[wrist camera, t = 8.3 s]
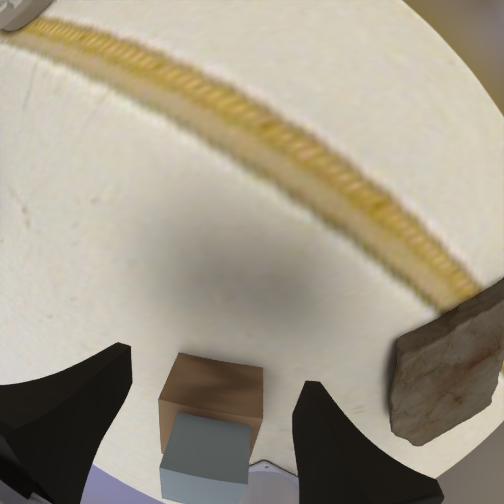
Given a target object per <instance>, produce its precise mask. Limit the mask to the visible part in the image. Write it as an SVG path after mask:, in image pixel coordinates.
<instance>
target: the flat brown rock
mask: <svg viewBox="0 0 504 504" xmlns="http://www.w3.org/2000/svg"><path fill="white" fill-rule="evenodd" d="M503 360H504V279H503V280H501V281H500V282H498V283H497V284H495V285H493V286H492V287H490V288H488V289H486V290H484V291H483V292H481V293H480V294H479V295H477V296H475V297H473V298H471V299H469V300H467V301H465V302H464V303H462V304H460V305H459V306H458V307H456V308H455V309H454V310H453V311H451V312H449V313H447V314H446V315H443V316H441V317H439V318H438V319H436V320H434V321H432V322H430V323H429V324H427V325H424V326H422V327H420V328H418V329H416V330H414V331H411V332H409V333H407V334H405V335H403V336H401V337H400V338H398V341H397V365H396V368H395V371H394V374H393V381H392V386H391V390H390V402H389V412H390V425H391V431H392V432H393V433H394V434H395V436H397V437H401V438H404V439H406V440H408V441H409V442H410V443H411V444H412V445H414V446H423V445H424V444H426V443H428V442H430V441H431V440H433V439H435V438H436V437H438V436H440V435H442V434H443V433H445V432H447V431H449V430H450V429H452V428H454V427H455V426H457V425H458V424H460V423H462V422H464V421H466V420H468V419H470V418H471V417H473V416H474V415H476V414H478V413H479V412H481V411H482V410H484V409H485V408H486V407H488V406H489V405H490V404H491V402H492V400H491V399H492V395H493V393H494V391H495V389H496V386H497V384H498V376H499V372H500V371H501V368H502V364H503Z"/></svg>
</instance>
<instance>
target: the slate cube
mask: <svg viewBox="0 0 504 504" xmlns="http://www.w3.org/2000/svg"><path fill="white" fill-rule="evenodd" d="M250 435H251V426H249V425H242V424H236V423H230V422H224V421H219V420H214V419H209V418H204V417H199V416H195V415H190V414H186V413H182V412H177V415H176V418H175V421H174V424H173V427H172V430H171V433H170V437H169V440H168V443H167V446H166V449H165V452H164V455H163V458H162V461H161V464H160V467H159V469H160V481H161V492H162V498H163V499H167V500H171V501H175V502H179V503H184V504H239V502H240V500H241V498H242V496H243V494H244V492H245V490H246V488H247V485H248V474H249V454H250Z"/></svg>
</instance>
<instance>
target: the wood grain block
mask: <svg viewBox="0 0 504 504" xmlns="http://www.w3.org/2000/svg"><path fill="white" fill-rule="evenodd" d="M158 403H159V424H160V440H161V452H162V454H164V452H165V449H166V446H167V443H168V440H169V437H170V433H171V430H172V427H173V424H174V421H175V418H176V415H177V412H182V413H186V414H190V415H195V416H199V417H204V418H209V419H214V420H219V421H224V422H230V423H236V424H242V425H249V426H251V435H250V454H249V460H250V457H251V454H252V451H253V448H254V445H255V442H256V439H257V436H258V432H259V429H260V426H261V423H262V420H263V368H261V367H254V366H247V365H241V364H235V363H229V362H223V361H217V360H212V359H207V358H202V357H197V356H192V355H187V354H183V353H178V356H177V358H176V360H175V362H174V365H173V367H172V369H171V371H170V374H169V376H168V378H167V380H166V383H165V385H164V387H163V390H162V392H161V394H160V396H159V399H158Z"/></svg>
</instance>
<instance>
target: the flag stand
mask: <svg viewBox="0 0 504 504" xmlns="http://www.w3.org/2000/svg"><path fill="white" fill-rule="evenodd" d="M51 2H52V0H0V29H1V28H2V29H4V30H7V31H15V30H18V29H19V28H21V27H23V26H25V25H26V24H28V23H29V22H30V21H32V20H33V19H34V18H35V17H36V16H37V15H39V14H40V13H41V12H42V11H43V10H44V9H45V8H46V7H47V6H48V5H49V4H50V3H51Z"/></svg>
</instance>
